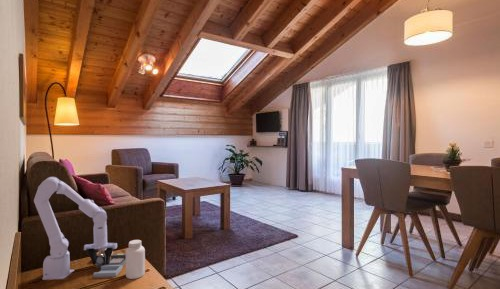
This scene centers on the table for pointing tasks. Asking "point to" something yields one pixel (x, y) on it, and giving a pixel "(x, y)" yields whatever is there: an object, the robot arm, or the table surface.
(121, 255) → the digital scale
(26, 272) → the table surface
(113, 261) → the pad
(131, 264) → the pill bottle
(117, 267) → the trough
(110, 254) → the robot arm
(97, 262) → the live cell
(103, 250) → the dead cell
